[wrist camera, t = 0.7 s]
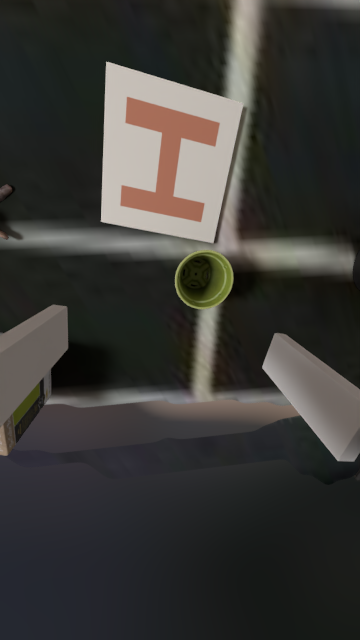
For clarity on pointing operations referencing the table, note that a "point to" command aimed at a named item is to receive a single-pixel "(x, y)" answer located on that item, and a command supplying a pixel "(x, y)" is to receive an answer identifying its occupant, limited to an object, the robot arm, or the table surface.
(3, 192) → the stuffed animal
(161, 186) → the letter board
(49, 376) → the tea box
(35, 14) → the table surface
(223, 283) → the plant pot
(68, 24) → the table surface
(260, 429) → the table surface
